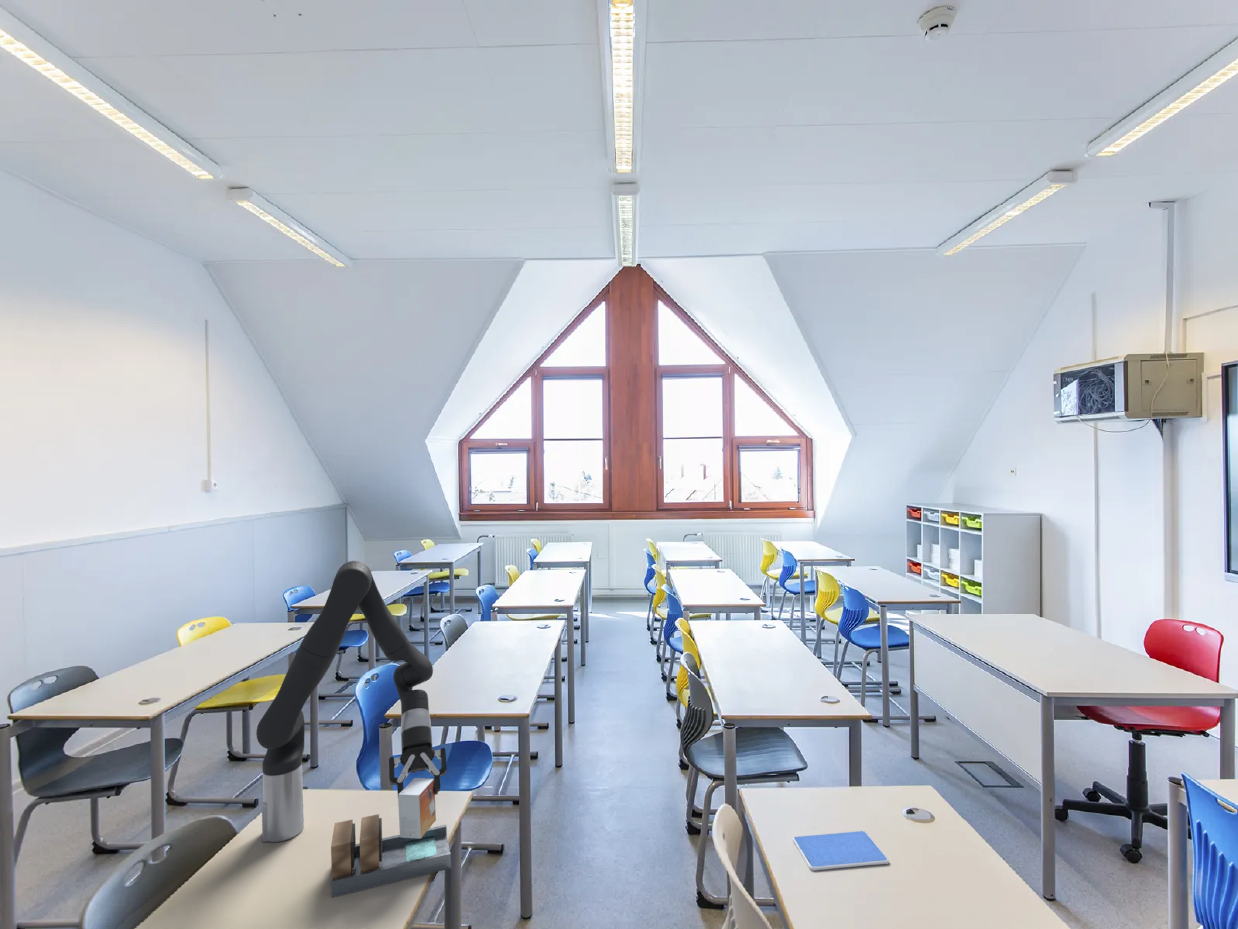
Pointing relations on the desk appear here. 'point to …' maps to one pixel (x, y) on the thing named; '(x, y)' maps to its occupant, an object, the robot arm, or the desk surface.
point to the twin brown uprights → (346, 846)
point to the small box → (416, 808)
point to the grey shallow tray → (399, 861)
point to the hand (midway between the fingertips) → (419, 796)
